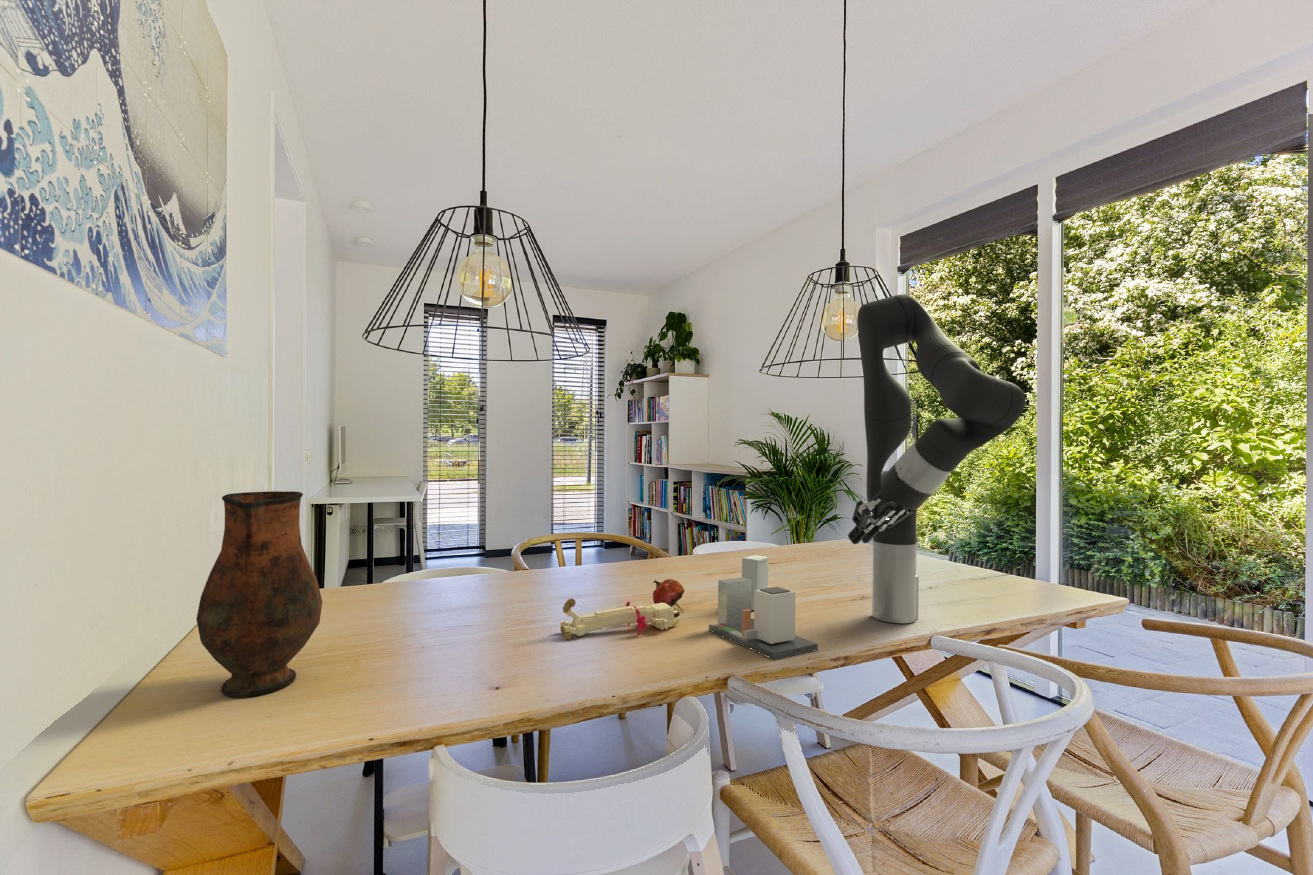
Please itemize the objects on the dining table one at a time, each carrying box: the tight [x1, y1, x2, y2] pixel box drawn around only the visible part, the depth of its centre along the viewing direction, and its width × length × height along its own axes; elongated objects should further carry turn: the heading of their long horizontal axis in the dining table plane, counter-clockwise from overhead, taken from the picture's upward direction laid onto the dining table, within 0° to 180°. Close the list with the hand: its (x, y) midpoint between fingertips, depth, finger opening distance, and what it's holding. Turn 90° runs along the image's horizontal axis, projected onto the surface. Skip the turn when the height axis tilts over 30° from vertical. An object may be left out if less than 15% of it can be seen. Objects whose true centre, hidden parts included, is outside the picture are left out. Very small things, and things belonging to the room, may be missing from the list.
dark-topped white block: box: [744, 586, 797, 644], centre depth 120 cm, size 8×5×9 cm, turn 121°
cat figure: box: [560, 597, 682, 641], centre depth 129 cm, size 10×9×25 cm
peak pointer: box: [742, 609, 752, 637], centre depth 121 cm, size 1×1×5 cm, turn 120°
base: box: [708, 576, 819, 660], centre depth 124 cm, size 11×20×10 cm, turn 31°
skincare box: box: [741, 554, 770, 611], centre depth 149 cm, size 6×4×12 cm
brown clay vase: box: [196, 490, 323, 699], centre depth 101 cm, size 17×21×30 cm
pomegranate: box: [652, 578, 685, 613], centre depth 146 cm, size 7×7×10 cm
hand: (857, 539), depth 113 cm, fingers closed
